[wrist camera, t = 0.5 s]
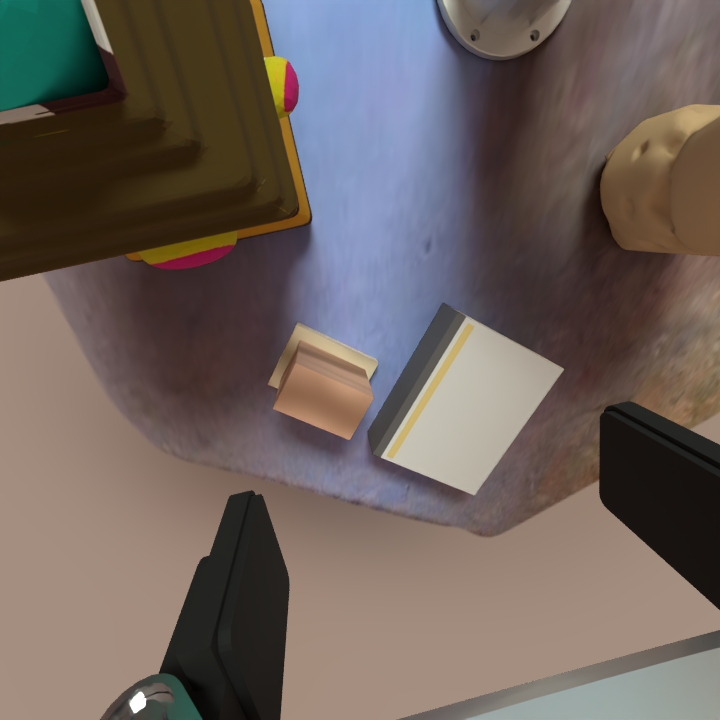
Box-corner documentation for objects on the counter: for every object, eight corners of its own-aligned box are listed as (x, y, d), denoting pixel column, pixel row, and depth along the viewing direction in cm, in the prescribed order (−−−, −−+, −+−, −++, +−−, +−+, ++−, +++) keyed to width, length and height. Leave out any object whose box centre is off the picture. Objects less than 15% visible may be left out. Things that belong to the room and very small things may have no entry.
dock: (443, 302, 42) (458, 312, 37) (539, 354, 46) (564, 369, 41) (367, 431, 47) (372, 454, 42) (459, 470, 50) (474, 496, 45)
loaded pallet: (297, 321, 41) (291, 345, 33) (376, 359, 44) (389, 390, 35) (269, 379, 43) (257, 416, 35) (346, 412, 46) (352, 454, 37)
